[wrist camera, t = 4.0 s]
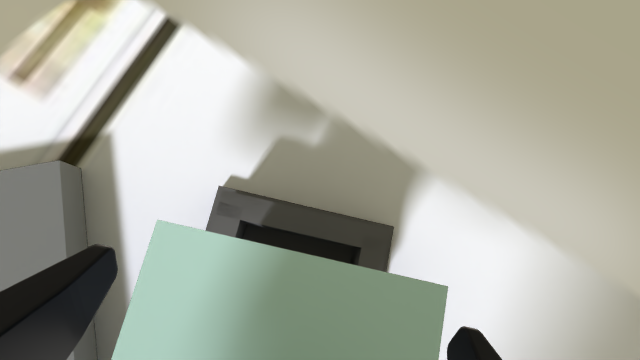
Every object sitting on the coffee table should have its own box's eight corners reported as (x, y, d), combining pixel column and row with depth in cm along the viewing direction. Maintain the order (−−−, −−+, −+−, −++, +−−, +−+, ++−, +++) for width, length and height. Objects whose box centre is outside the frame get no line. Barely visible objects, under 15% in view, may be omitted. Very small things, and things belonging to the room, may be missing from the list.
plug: (320, 358, 15) (398, 656, 4) (226, 337, 14) (36, 585, 4) (340, 262, 15) (448, 286, 5) (252, 242, 15) (157, 219, 5)
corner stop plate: (357, 418, 15) (370, 452, 12) (165, 377, 14) (139, 402, 12) (390, 227, 16) (407, 223, 14) (221, 187, 16) (208, 176, 14)
